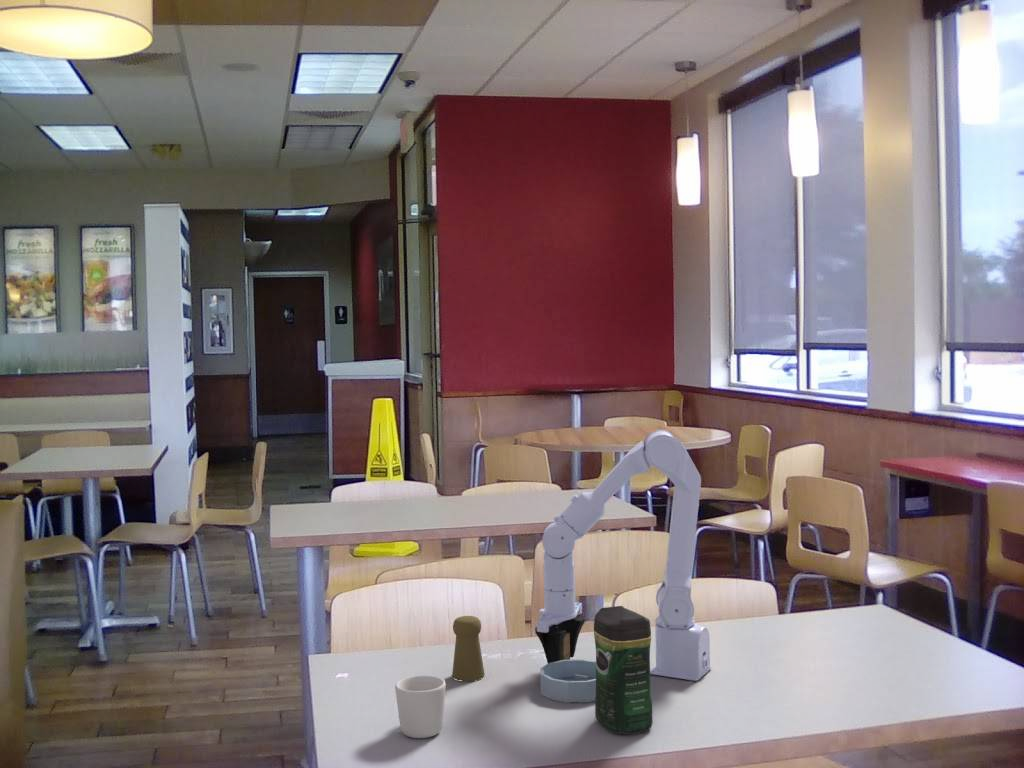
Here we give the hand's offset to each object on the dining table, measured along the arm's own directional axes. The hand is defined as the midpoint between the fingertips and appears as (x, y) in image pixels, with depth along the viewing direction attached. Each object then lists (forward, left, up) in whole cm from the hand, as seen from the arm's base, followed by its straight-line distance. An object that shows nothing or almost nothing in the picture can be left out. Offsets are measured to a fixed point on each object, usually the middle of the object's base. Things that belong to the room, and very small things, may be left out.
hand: (561, 660), depth 194 cm
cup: (+7, +35, -2) cm, 36 cm away
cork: (+14, +10, -2) cm, 17 cm away
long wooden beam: (0, 0, -2) cm, 2 cm away
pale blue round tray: (-7, +8, -2) cm, 11 cm away
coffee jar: (-21, +19, -2) cm, 28 cm away
